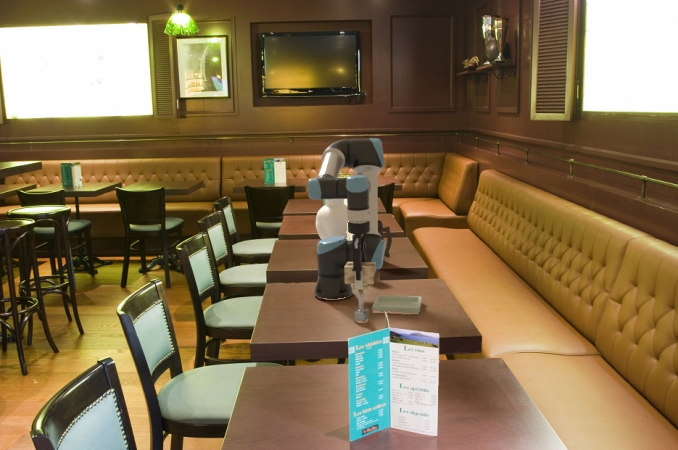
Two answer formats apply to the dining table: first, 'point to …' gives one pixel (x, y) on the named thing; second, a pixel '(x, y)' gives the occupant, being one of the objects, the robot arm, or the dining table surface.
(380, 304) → the tray
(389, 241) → the beer stein
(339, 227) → the vase
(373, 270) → the slotted wooden block
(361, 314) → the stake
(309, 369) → the dining table surface
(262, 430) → the dining table surface
